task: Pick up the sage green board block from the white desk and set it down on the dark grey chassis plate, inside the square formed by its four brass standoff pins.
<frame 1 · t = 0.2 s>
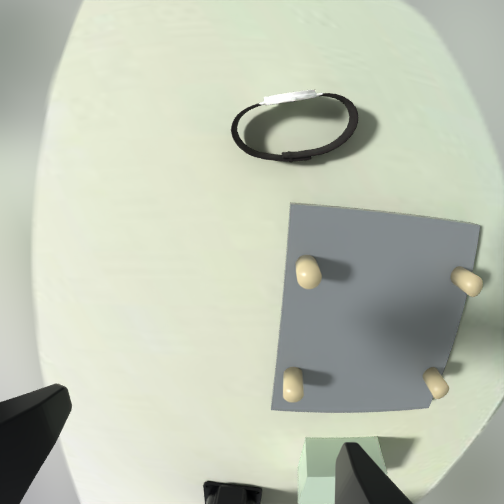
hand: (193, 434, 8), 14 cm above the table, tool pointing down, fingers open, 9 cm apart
watch: (294, 127, 20), on the table
board block: (336, 452, 26), on the table
chassis: (374, 320, 22), on the table
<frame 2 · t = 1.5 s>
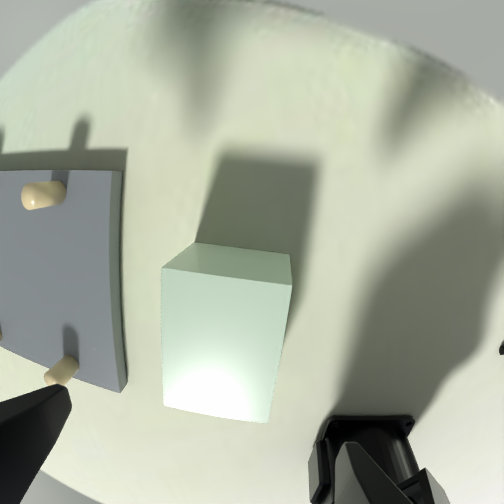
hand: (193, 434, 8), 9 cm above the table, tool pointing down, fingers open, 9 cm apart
board block: (235, 309, 17), on the table
chassis: (28, 270, 18), on the table
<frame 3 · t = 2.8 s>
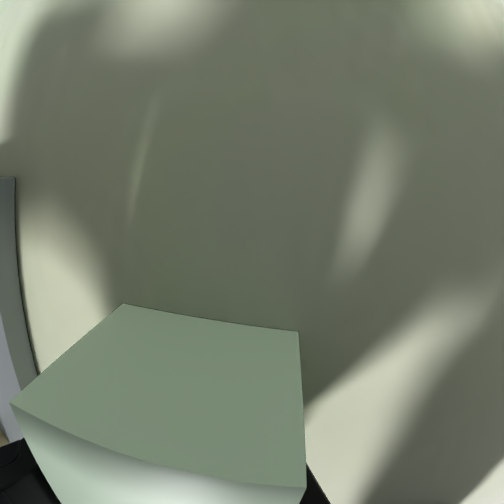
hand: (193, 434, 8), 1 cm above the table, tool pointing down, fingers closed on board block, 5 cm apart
board block: (201, 412, 9), on the table, touching gripper
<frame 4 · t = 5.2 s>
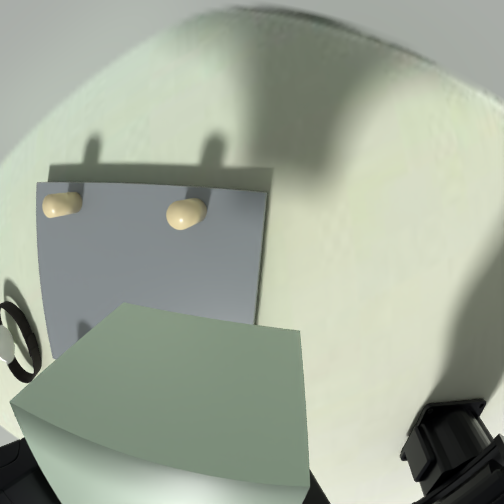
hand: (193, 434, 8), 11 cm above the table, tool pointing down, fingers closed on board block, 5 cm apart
watch: (25, 336, 23), on the table
board block: (202, 412, 9), point 10 cm above the table, touching gripper
chassis: (136, 290, 20), on the table
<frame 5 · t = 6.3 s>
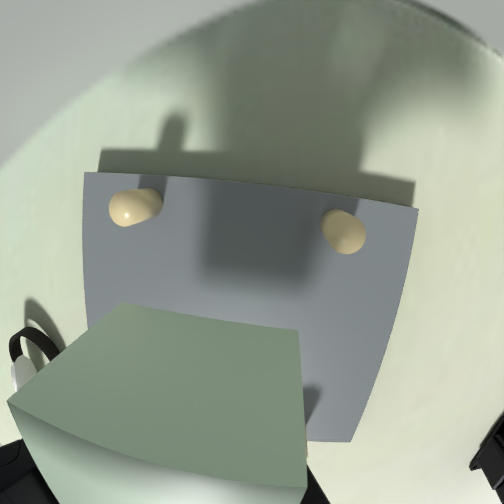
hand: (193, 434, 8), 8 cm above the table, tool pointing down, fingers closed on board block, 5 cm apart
watch: (54, 367, 19), on the table
board block: (201, 412, 9), point 7 cm above the table, touching gripper
chassis: (231, 321, 16), on the table
when the fingers open (3 cm above the table, at t = 7.5 s): board block drops 1 cm, resting on chassis.
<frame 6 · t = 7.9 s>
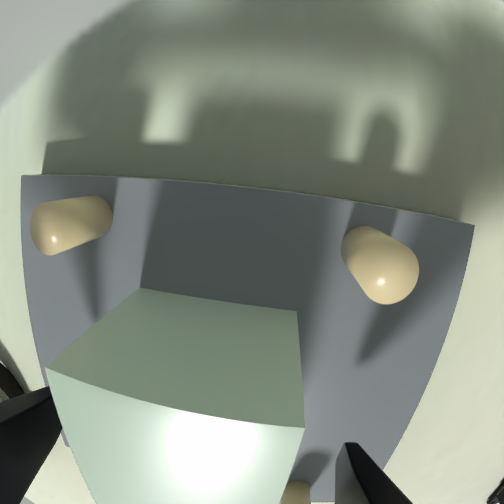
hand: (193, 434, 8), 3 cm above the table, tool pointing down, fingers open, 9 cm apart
watch: (20, 400, 15), on the table
board block: (209, 389, 10), point 1 cm above the table, touching chassis
chassis: (214, 372, 12), on the table
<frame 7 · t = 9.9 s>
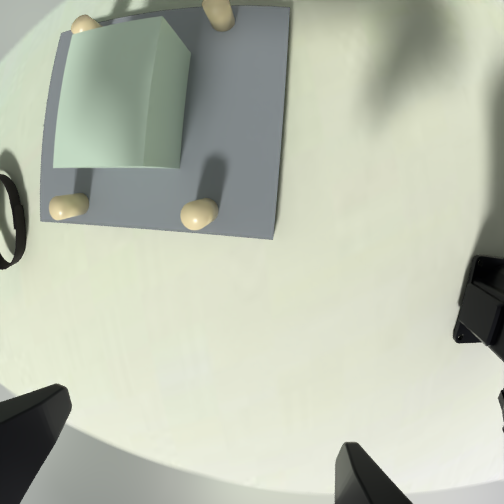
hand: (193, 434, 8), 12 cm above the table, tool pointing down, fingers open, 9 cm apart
watch: (12, 216, 20), on the table
board block: (144, 109, 16), point 1 cm above the table, touching chassis
chassis: (151, 114, 18), on the table
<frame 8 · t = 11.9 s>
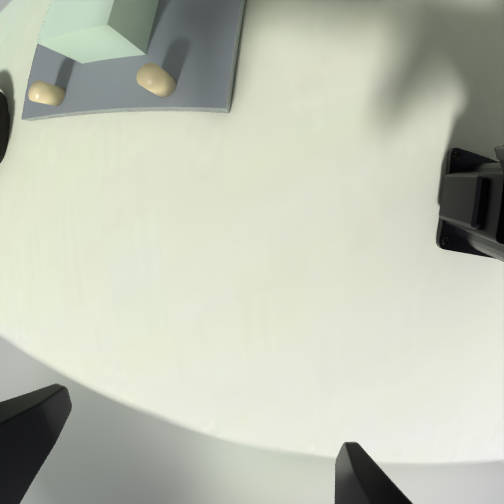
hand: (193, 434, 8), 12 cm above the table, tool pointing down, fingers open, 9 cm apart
board block: (122, 14, 15), point 1 cm above the table, touching chassis
chassis: (129, 22, 16), on the table
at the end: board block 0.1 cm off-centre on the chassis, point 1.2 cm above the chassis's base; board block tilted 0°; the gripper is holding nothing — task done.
